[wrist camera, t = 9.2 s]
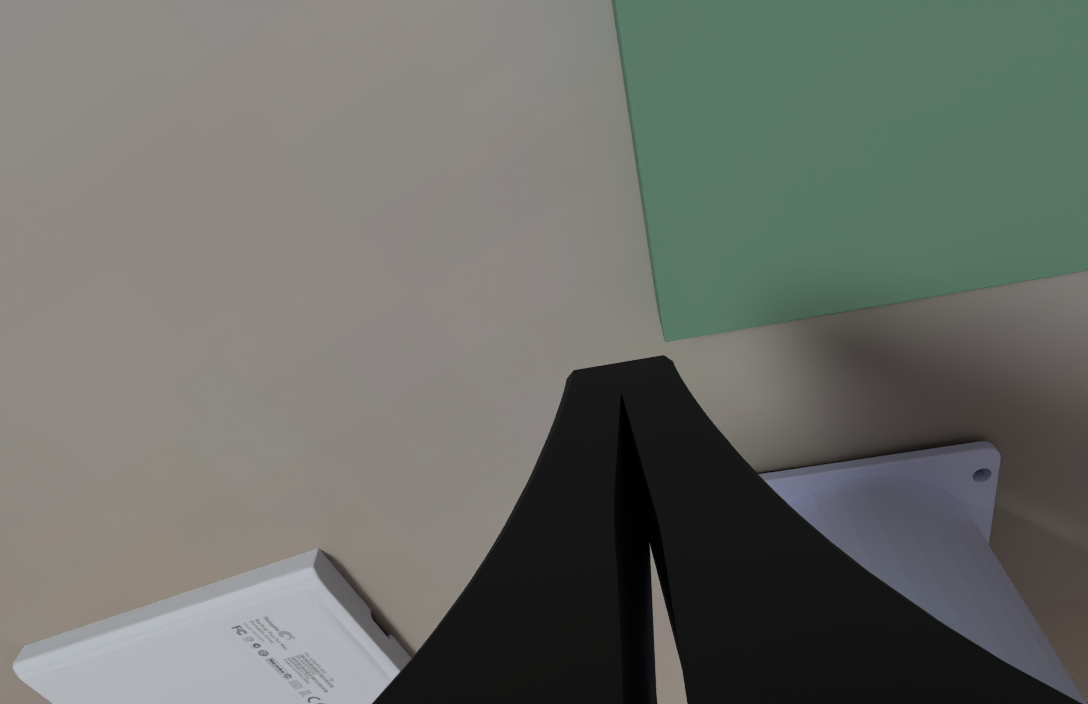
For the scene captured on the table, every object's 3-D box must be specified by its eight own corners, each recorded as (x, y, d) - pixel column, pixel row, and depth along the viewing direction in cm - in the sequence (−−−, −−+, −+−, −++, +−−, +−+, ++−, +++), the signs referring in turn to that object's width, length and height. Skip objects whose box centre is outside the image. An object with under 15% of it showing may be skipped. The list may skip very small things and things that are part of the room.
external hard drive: (32, 631, 29) (322, 534, 26) (175, 746, 33) (439, 674, 30) (7, 670, 28) (310, 573, 25) (159, 786, 32) (434, 714, 29)
